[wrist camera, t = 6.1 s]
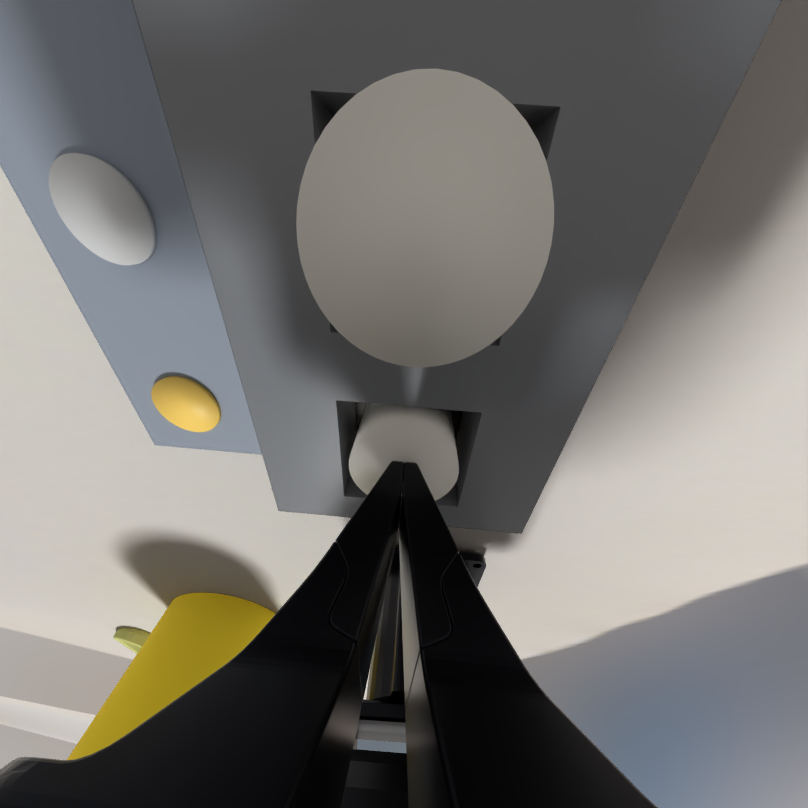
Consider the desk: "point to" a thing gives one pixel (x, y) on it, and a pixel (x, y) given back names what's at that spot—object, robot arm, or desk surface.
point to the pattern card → (118, 213)
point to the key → (131, 638)
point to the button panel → (571, 183)
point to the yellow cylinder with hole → (175, 661)
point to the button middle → (425, 217)
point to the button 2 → (405, 445)
